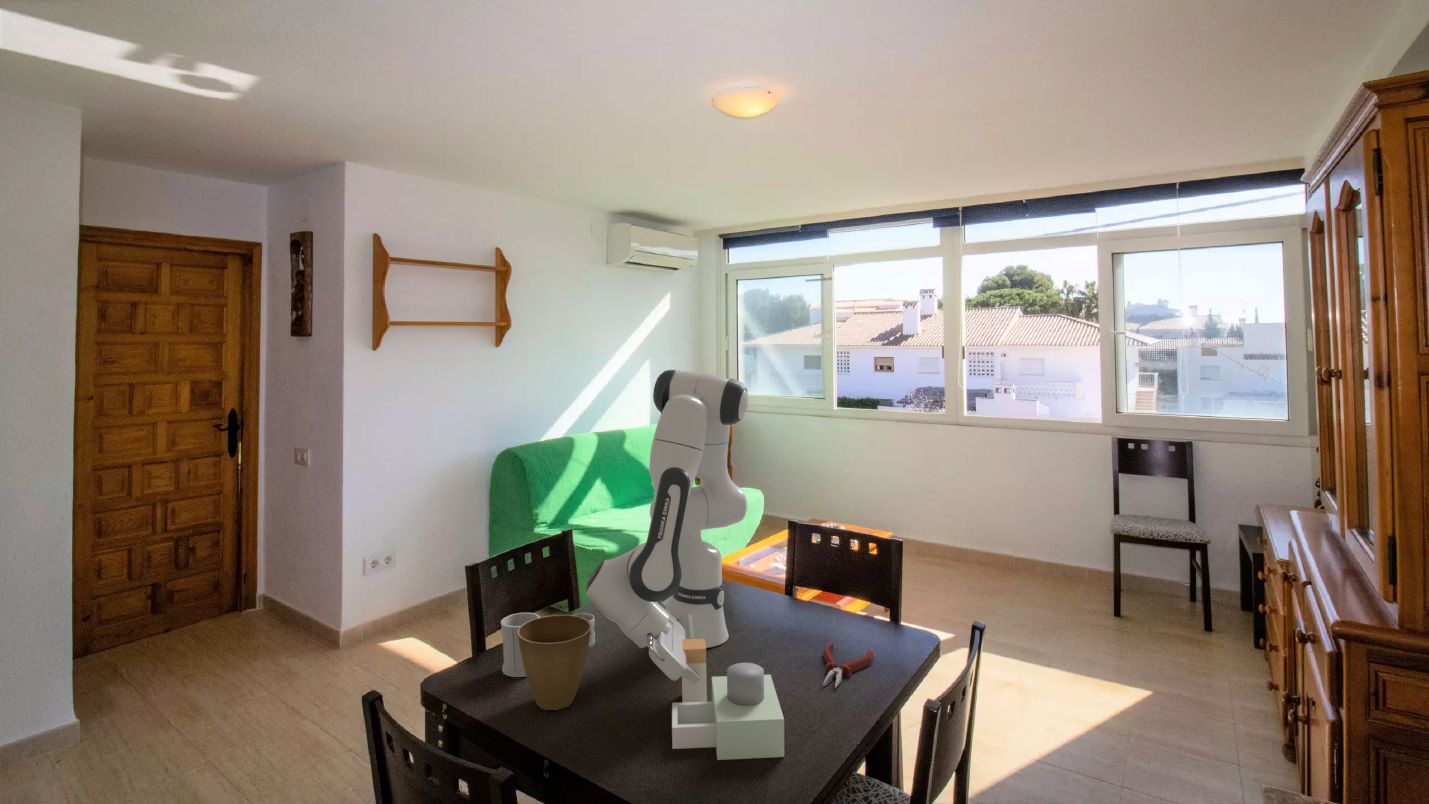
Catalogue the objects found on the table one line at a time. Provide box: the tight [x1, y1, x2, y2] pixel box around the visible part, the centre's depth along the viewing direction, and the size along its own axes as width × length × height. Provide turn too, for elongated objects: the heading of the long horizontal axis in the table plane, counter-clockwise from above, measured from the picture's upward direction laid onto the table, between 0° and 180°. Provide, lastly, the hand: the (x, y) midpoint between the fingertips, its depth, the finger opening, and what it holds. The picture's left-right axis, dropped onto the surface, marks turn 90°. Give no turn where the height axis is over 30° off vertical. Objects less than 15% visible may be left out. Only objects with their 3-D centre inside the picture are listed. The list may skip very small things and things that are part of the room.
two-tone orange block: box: [681, 639, 708, 702], centre depth 140 cm, size 5×5×12 cm
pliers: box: [822, 642, 874, 690], centre depth 153 cm, size 12×20×3 cm, turn 155°
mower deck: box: [671, 662, 785, 761], centre depth 127 cm, size 20×17×12 cm
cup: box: [500, 612, 541, 677], centre depth 154 cm, size 10×9×12 cm
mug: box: [572, 612, 596, 649], centre depth 170 cm, size 10×7×7 cm
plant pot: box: [517, 614, 591, 711], centre depth 140 cm, size 15×15×16 cm
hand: (696, 669), depth 140 cm, fingers open, 8 cm apart
